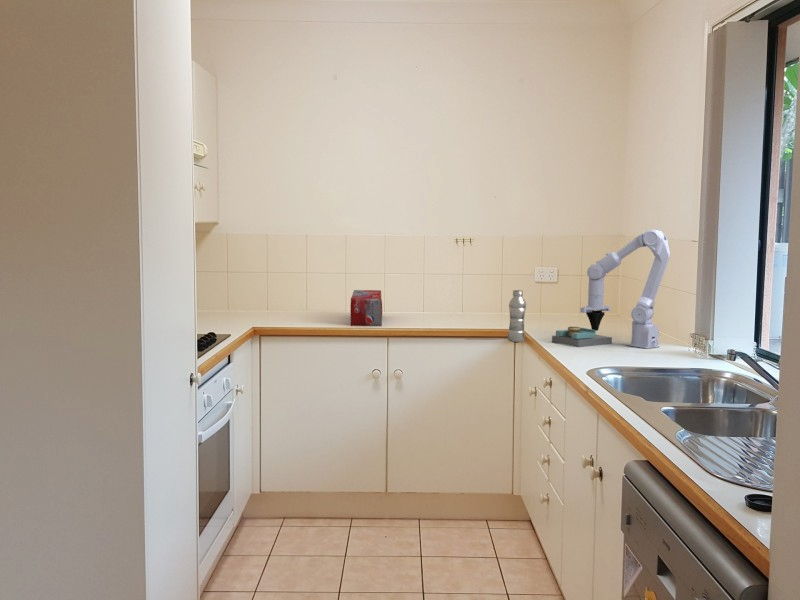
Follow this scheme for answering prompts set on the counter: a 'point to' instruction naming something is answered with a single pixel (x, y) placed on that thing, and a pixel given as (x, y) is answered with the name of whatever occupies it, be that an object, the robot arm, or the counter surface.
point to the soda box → (366, 308)
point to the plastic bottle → (517, 317)
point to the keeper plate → (582, 333)
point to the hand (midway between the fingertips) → (594, 330)
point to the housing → (582, 340)
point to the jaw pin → (573, 330)
